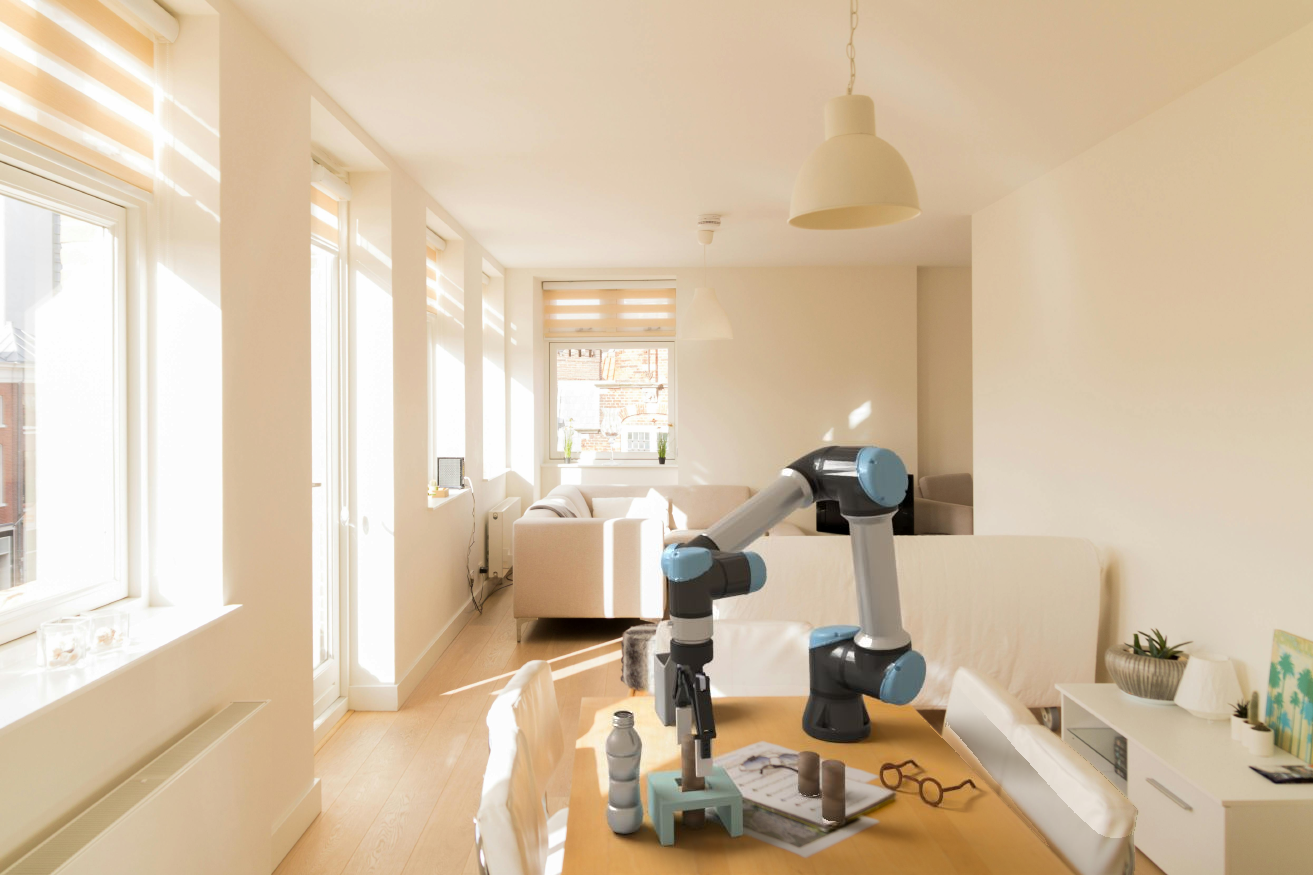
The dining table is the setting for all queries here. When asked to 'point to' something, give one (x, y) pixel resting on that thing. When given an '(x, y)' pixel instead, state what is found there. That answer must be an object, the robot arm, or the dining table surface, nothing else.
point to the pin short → (808, 773)
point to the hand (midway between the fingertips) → (693, 758)
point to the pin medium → (833, 791)
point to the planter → (665, 688)
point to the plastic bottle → (624, 775)
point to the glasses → (941, 790)
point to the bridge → (693, 801)
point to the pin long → (691, 782)
